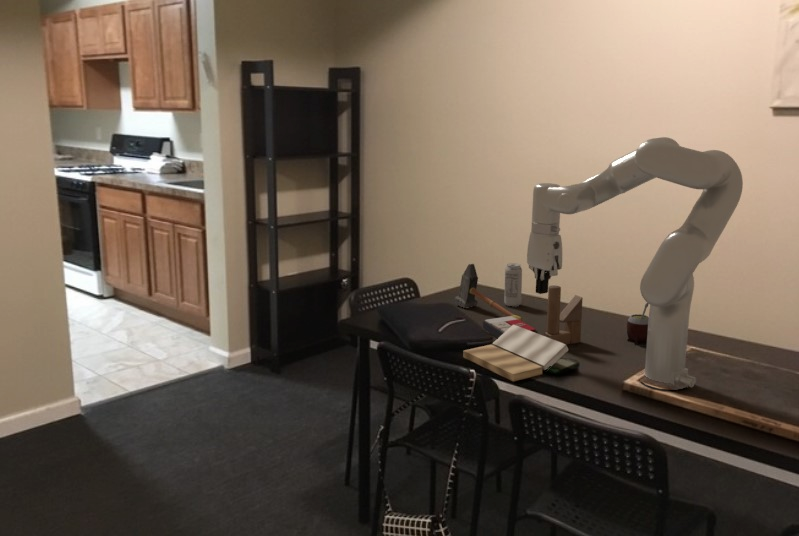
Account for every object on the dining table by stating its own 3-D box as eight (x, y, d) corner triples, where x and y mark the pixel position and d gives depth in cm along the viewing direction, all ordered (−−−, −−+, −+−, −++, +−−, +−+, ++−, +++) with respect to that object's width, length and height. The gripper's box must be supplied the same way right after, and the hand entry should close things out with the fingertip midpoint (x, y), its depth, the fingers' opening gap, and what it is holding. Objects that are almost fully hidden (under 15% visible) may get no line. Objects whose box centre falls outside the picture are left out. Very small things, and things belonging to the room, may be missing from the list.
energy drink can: (524, 305, 255) (525, 264, 251) (514, 308, 250) (515, 267, 247) (510, 302, 259) (511, 262, 255) (500, 305, 254) (501, 265, 251)
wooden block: (580, 342, 213) (583, 285, 209) (550, 347, 209) (552, 288, 205) (573, 339, 216) (576, 282, 212) (543, 343, 212) (545, 285, 209)
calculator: (507, 333, 212) (482, 318, 225) (507, 347, 213) (482, 330, 226) (538, 328, 216) (512, 314, 229) (537, 342, 217) (511, 326, 230)
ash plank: (568, 349, 192) (566, 344, 191) (546, 371, 189) (543, 365, 188) (515, 329, 210) (513, 324, 209) (494, 348, 207) (492, 343, 206)
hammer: (518, 298, 226) (460, 262, 249) (509, 341, 233) (454, 302, 255) (531, 295, 230) (473, 260, 252) (522, 337, 236) (466, 300, 258)
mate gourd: (628, 337, 218) (631, 290, 214) (655, 341, 214) (658, 293, 211) (623, 344, 211) (626, 295, 208) (650, 348, 208) (654, 298, 204)
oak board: (542, 373, 188) (542, 366, 188) (513, 381, 183) (513, 374, 183) (490, 350, 206) (491, 344, 206) (463, 357, 201) (463, 350, 201)
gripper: (574, 231, 190) (570, 297, 194) (537, 223, 202) (534, 285, 206) (553, 234, 186) (549, 301, 190) (517, 225, 198) (514, 288, 203)
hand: (541, 292), depth 198 cm, fingers closed
